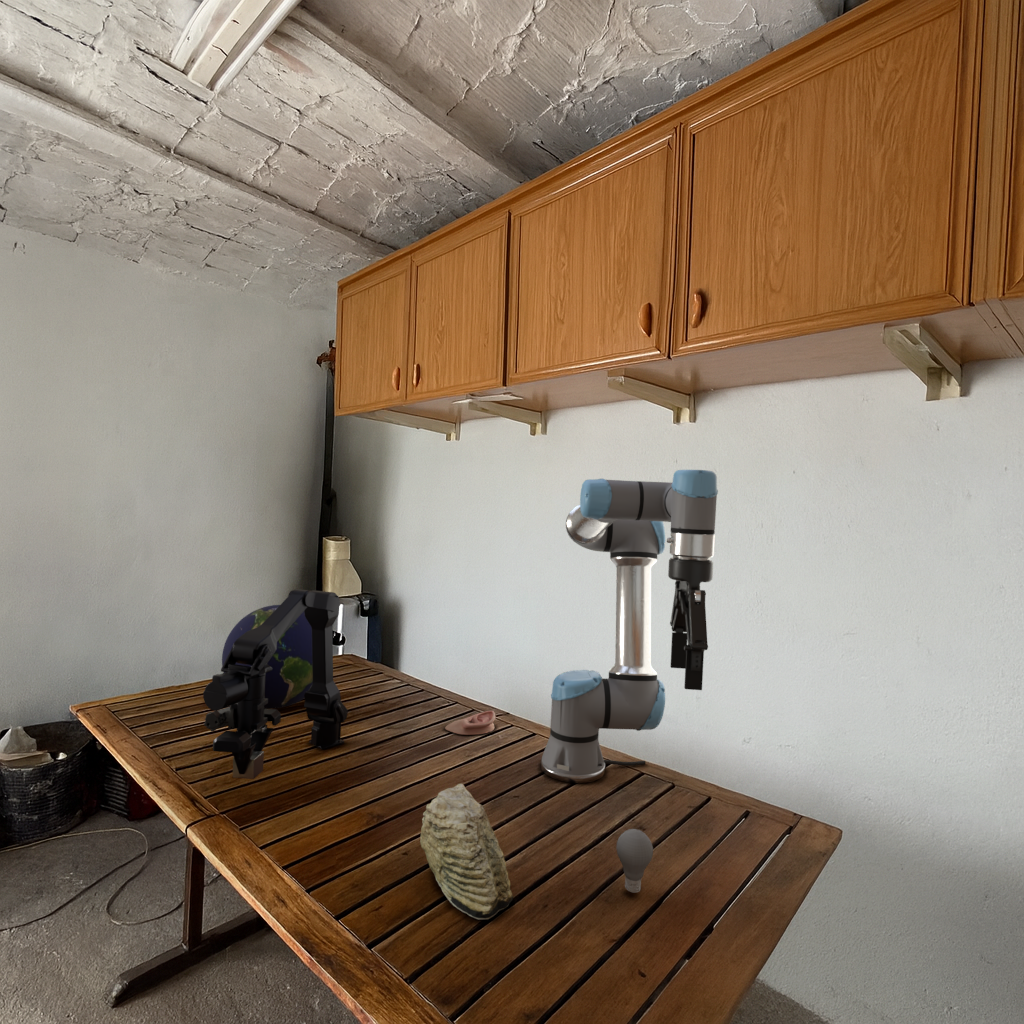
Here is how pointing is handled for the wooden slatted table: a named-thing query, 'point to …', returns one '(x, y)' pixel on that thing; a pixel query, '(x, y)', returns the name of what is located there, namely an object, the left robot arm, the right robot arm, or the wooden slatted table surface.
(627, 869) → the light bulb
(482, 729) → the anatomical model
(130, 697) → the wooden slatted table surface
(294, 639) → the globe
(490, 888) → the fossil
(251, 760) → the block
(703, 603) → the right robot arm
